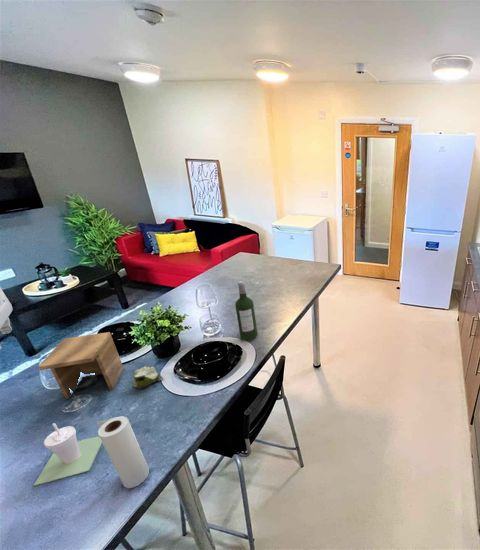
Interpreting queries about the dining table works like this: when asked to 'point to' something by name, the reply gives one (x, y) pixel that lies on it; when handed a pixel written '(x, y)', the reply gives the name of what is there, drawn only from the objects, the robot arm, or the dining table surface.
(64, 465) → the mat
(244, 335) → the wine bottle
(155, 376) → the mossy rock
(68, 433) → the smoothie
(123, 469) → the paper towel roll
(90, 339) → the desk
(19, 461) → the dining table surface
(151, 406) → the dining table surface
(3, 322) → the robot arm
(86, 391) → the dining table surface
